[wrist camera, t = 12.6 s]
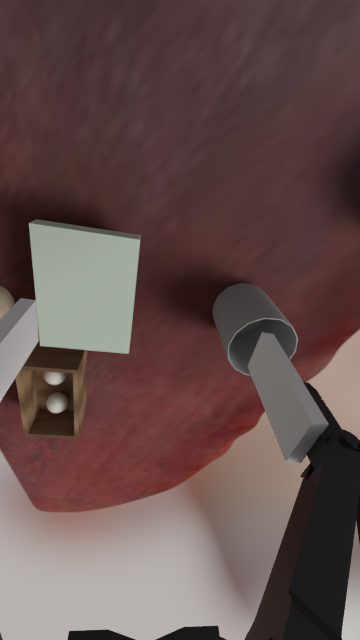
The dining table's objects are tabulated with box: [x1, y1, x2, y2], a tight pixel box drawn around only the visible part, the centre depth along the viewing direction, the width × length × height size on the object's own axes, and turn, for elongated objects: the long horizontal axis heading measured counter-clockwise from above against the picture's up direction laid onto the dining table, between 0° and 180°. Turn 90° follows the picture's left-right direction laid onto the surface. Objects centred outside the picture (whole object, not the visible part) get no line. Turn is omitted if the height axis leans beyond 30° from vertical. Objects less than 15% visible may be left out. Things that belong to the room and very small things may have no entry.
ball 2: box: [46, 392, 68, 413], centre depth 44 cm, size 3×3×3 cm
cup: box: [213, 283, 298, 375], centre depth 37 cm, size 8×8×10 cm
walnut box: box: [16, 340, 87, 439], centre depth 43 cm, size 14×8×6 cm, turn 170°
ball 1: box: [44, 371, 67, 385], centre depth 42 cm, size 3×3×3 cm
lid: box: [29, 219, 141, 354], centre depth 33 cm, size 15×11×2 cm
